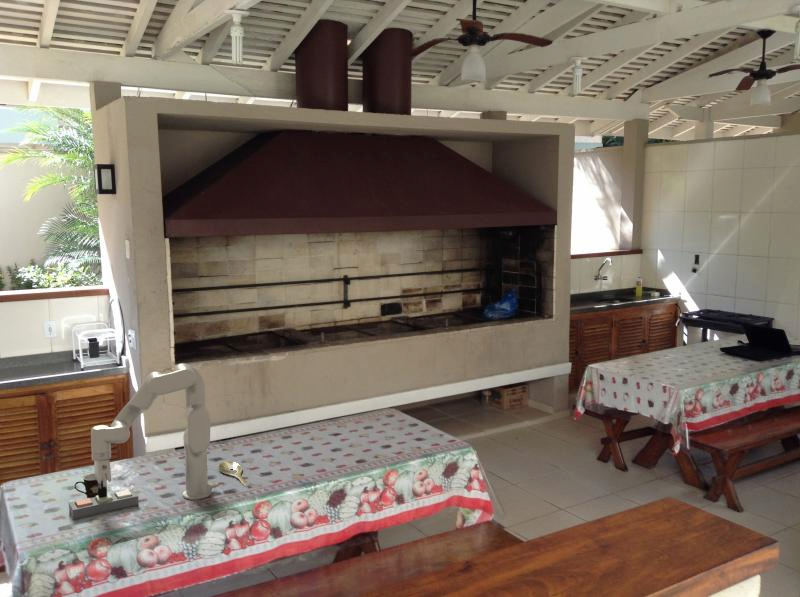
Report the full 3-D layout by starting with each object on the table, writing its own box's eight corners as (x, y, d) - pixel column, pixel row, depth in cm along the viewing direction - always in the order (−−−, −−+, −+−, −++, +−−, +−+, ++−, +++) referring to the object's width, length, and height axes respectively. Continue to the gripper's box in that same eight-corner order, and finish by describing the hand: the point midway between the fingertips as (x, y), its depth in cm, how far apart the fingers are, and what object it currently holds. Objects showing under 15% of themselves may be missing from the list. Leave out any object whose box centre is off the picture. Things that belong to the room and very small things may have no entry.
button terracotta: (89, 506, 303) (89, 497, 303) (92, 511, 299) (91, 502, 298) (75, 509, 300) (75, 500, 300) (78, 514, 296) (77, 505, 295)
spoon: (260, 489, 331) (260, 485, 330) (238, 494, 325) (238, 490, 325) (234, 462, 360) (234, 458, 359) (214, 466, 354) (214, 462, 354)
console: (133, 498, 315) (132, 489, 314) (138, 506, 308) (138, 496, 307) (69, 512, 300) (68, 502, 300) (73, 520, 293) (72, 510, 292)
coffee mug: (108, 494, 320) (107, 472, 319) (101, 502, 311) (100, 480, 310) (82, 494, 320) (81, 473, 318) (74, 502, 311) (73, 480, 310)
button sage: (109, 501, 307) (109, 493, 307) (112, 506, 303) (111, 497, 303) (96, 504, 304) (95, 495, 304) (98, 509, 300) (98, 500, 300)
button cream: (128, 498, 312) (128, 489, 312) (131, 502, 308) (131, 493, 307) (115, 501, 309) (115, 492, 308) (118, 505, 305) (118, 496, 304)
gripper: (114, 458, 297) (116, 500, 299) (106, 448, 309) (108, 489, 311) (95, 461, 293) (97, 504, 295) (88, 451, 305) (89, 492, 307)
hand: (102, 496), depth 303 cm, fingers closed
